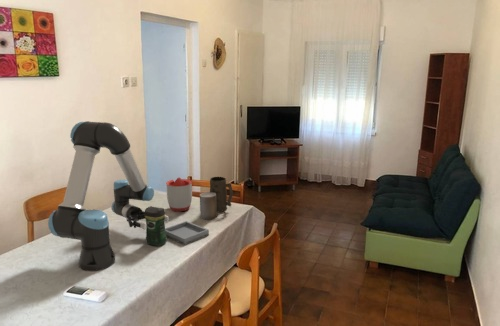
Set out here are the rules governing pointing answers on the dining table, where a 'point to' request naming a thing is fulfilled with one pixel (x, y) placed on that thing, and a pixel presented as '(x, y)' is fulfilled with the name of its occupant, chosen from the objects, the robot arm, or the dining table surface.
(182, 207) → the citrus juicer
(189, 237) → the tray
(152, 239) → the coffee jar
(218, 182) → the beer stein
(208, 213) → the pillar candle
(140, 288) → the dining table surface
